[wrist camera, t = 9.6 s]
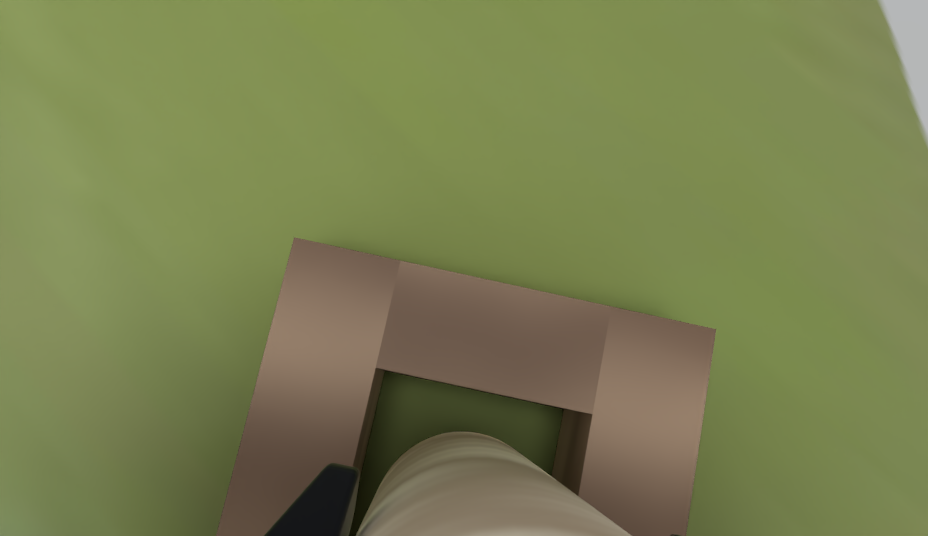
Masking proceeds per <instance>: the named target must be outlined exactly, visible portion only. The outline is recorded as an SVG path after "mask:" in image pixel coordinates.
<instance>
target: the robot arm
mask: <svg viewBox="0 0 928 536" xmlns="http://www.w3.org/2000/svg"><path fill="white" fill-rule="evenodd" d="M359 479H360V471H359V469H358V468H356V467H352V466H347V465H342V464H338V463H330V464H328V465H327V466H325V467H324V468H323V469H322V471H321V472H320V473H319V474H318V475H317V476H316V477H315V478H314V480H313V481H312V482H311V483H310V484H309V485H308V486H307V488H306V489H305V490H304V491H303V492H302V493H301V494H300V495H299V497H298V498H297V499H296V500H295V501H294V502H293V503H292V504H291V506H290V507H289V508H288V509H287V510H286V511H285V512H284V513H283V515H282V516H281V517H280V518H279V519H278V520H277V521H276V522H275V524H274V525H273V526H272V527H271V528H270V529H269V530H268V531H267V533H266V534H265V535H264V536H349V533H350V529H351V525H352V520H353V516H354V511H355V505H356V499H357V492H358V485H359ZM670 536H682V535H677V534H672V535H670Z"/></svg>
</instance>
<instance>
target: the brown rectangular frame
mask: <svg viewBox="0 0 928 536" xmlns="http://www.w3.org/2000/svg"><path fill="white" fill-rule="evenodd" d="M715 333H716V329H712V328H708V327H703V326H699V325H694V324H689V323H685V322H680V321H676V320H671V319H666V318H662V317H657V316H653V315H648V314H643V313H639V312H634V311H630V310H625V309H620V308H616V307H611V306H607V305H602V304H598V303H593V302H588V301H584V300H579V299H575V298H570V297H565V296H561V295H556V294H552V293H547V292H542V291H538V290H533V289H529V288H524V287H519V286H515V285H510V284H506V283H501V282H496V281H492V280H487V279H483V278H478V277H474V276H469V275H464V274H460V273H455V272H451V271H446V270H441V269H437V268H432V267H428V266H423V265H418V264H414V263H409V262H405V261H400V260H395V259H391V258H386V257H382V256H377V255H372V254H368V253H363V252H359V251H354V250H349V249H345V248H340V247H336V246H331V245H327V244H322V243H317V242H313V241H308V240H304V239H299V238H294V240H293V244H292V248H291V252H290V256H289V259H288V263H287V267H286V271H285V275H284V278H283V282H282V286H281V290H280V294H279V298H278V301H277V305H276V309H275V313H274V317H273V320H272V324H271V328H270V332H269V336H268V340H267V343H266V347H265V351H264V355H263V359H262V362H261V366H260V370H259V374H258V378H257V382H256V385H255V389H254V393H253V397H252V401H251V404H250V408H249V412H248V416H247V420H246V424H245V427H244V431H243V435H242V439H241V443H240V446H239V450H238V454H237V458H236V462H235V465H234V469H233V473H232V477H231V481H230V485H229V488H228V492H227V496H226V500H225V504H224V507H223V511H222V515H221V519H220V523H219V527H218V530H217V534H216V536H264V535H265V534H266V533H267V531H268V530H269V529H270V528H271V527H272V526H273V525H274V524H275V522H276V521H277V520H278V519H279V518H280V517H281V516H282V515H283V513H284V512H285V511H286V510H287V509H288V508H289V507H290V506H291V504H292V503H293V502H294V501H295V500H296V499H297V498H298V497H299V495H300V494H301V493H302V492H303V491H304V490H305V489H306V488H307V486H308V485H309V484H310V483H311V482H312V481H313V480H314V478H315V477H316V476H317V475H318V474H319V473H320V472H321V471H322V469H323V468H324V467H325V466H327V465H328V464H330V463H338V464H342V465H347V466H352V467H356V468H358V469H359V471H360V476H361V472H362V468H363V463H364V459H365V455H366V450H367V446H368V441H369V437H370V433H371V428H372V424H373V420H374V415H375V411H376V407H377V402H378V398H379V394H380V389H381V385H382V381H383V376H384V372H385V371H389V372H394V373H398V374H403V375H408V376H412V377H417V378H422V379H426V380H431V381H436V382H440V383H445V384H450V385H454V386H459V387H464V388H468V389H473V390H477V391H482V392H487V393H491V394H496V395H501V396H505V397H510V398H515V399H519V400H524V401H529V402H533V403H538V404H543V405H547V406H552V407H557V408H561V409H564V410H563V416H562V421H561V427H560V432H559V438H558V443H557V449H556V454H555V460H554V465H553V471H552V477H553V478H554V479H556V480H557V481H558V482H560V483H561V484H562V485H564V486H565V487H566V488H568V489H569V490H571V491H572V492H573V493H575V494H576V495H577V496H579V497H580V498H581V499H583V500H584V501H585V502H587V503H588V504H590V505H591V506H592V507H594V508H595V509H596V510H598V511H599V512H600V513H602V514H603V515H604V516H606V517H607V518H609V519H610V520H611V521H613V522H614V523H615V524H617V525H618V526H619V527H621V528H622V529H623V530H625V531H626V532H627V533H629V534H630V535H632V536H670V535H672V534H677V535H682V536H686V532H687V525H688V518H689V511H690V504H691V498H692V491H693V484H694V477H695V470H696V463H697V456H698V450H699V443H700V436H701V429H702V422H703V415H704V409H705V402H706V395H707V388H708V381H709V374H710V367H711V361H712V354H713V347H714V340H715ZM359 481H360V479H359Z"/></svg>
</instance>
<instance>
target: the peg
mask: <svg viewBox="0 0 928 536" xmlns="http://www.w3.org/2000/svg"><path fill="white" fill-rule="evenodd" d="M356 536H632V535H630V534H629V533H627V532H626V531H625V530H623V529H622V528H621V527H619V526H618V525H617V524H615V523H614V522H613V521H611V520H610V519H609V518H607V517H606V516H604V515H603V514H602V513H600V512H599V511H598V510H596V509H595V508H594V507H592V506H591V505H590V504H588V503H587V502H585V501H584V500H583V499H581V498H580V497H579V496H577V495H576V494H575V493H573V492H572V491H571V490H569V489H568V488H566V487H565V486H564V485H562V484H561V483H560V482H558V481H557V480H556V479H554V478H553V477H552V476H550V475H549V474H547V473H546V472H545V471H543V470H542V469H541V468H539V467H538V466H537V465H535V464H534V463H533V462H531V461H530V460H528V459H527V458H526V457H524V456H523V455H522V454H520V453H519V452H518V451H516V450H515V449H514V448H512V447H511V446H509V445H507V444H506V443H504V442H502V441H501V440H498V439H496V438H493V437H491V436H488V435H484V434H481V433H475V432H449V433H443V434H440V435H436V436H433V437H430V438H428V439H426V440H423V441H421V442H420V443H418V444H416V445H415V446H413V447H411V448H410V449H409V450H408V451H406V452H405V453H404V454H402V455H401V456H400V457H399V459H398V460H397V461H396V462H395V463H394V464H393V465H392V466H391V468H390V469H389V470H388V472H387V473H386V475H385V477H384V478H383V480H382V482H381V483H380V486H379V488H378V490H377V492H376V494H375V496H374V498H373V500H372V502H371V505H370V507H369V509H368V511H367V513H366V515H365V517H364V519H363V521H362V524H361V526H360V528H359V530H358V532H357V534H356Z"/></svg>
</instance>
